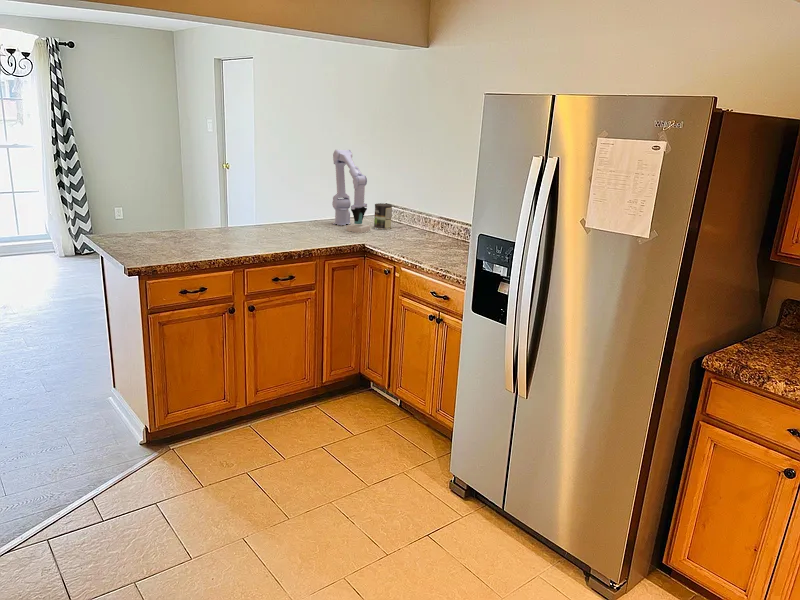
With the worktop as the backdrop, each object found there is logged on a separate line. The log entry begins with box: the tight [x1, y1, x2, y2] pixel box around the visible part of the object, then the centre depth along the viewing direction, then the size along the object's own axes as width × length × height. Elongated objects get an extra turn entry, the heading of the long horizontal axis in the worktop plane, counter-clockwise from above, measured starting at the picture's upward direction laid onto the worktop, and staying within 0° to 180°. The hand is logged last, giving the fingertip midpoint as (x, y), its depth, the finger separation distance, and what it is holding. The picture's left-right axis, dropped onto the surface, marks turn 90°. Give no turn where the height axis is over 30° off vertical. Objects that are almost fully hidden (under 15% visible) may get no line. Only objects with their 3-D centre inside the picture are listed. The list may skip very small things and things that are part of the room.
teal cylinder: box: [353, 213, 363, 225], centre depth 351 cm, size 4×4×6 cm
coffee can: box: [373, 202, 393, 230], centre depth 363 cm, size 10×10×14 cm
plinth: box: [345, 223, 371, 234], centre depth 352 cm, size 10×10×3 cm
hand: (358, 220), depth 351 cm, fingers closed on teal cylinder, 4 cm apart
